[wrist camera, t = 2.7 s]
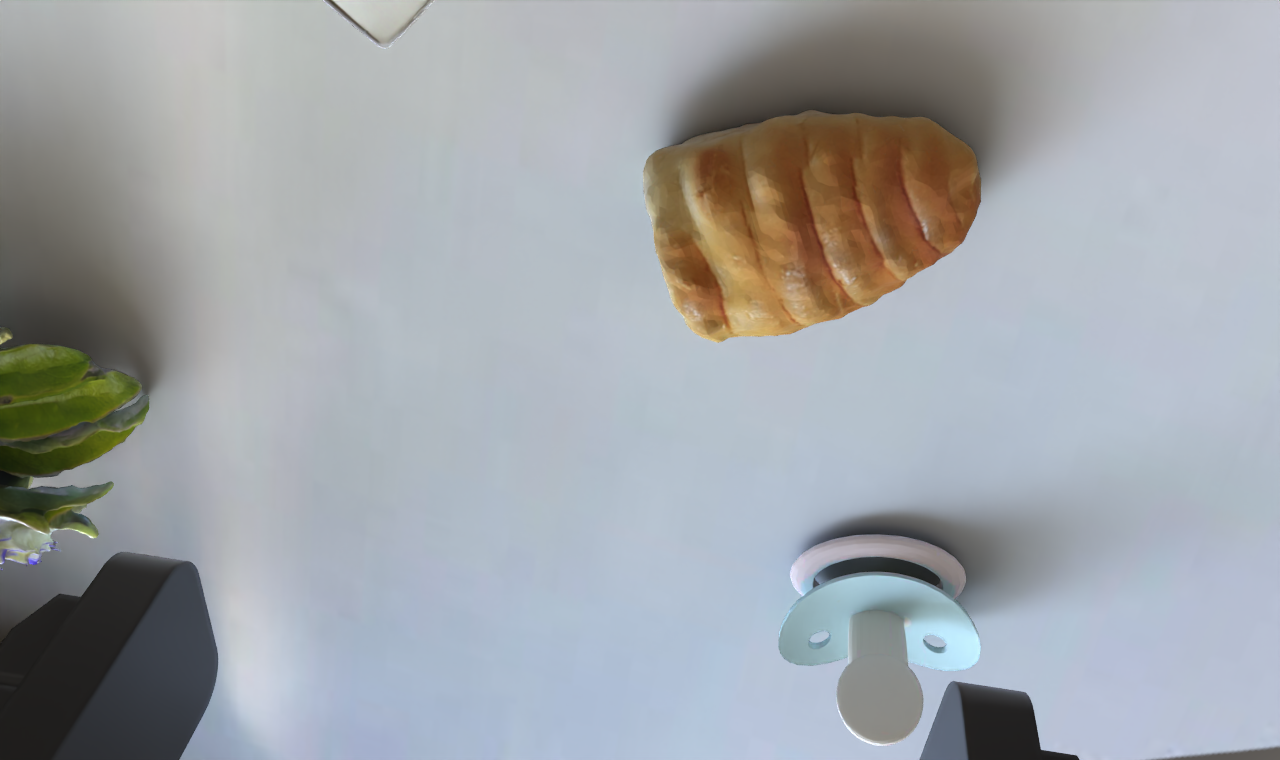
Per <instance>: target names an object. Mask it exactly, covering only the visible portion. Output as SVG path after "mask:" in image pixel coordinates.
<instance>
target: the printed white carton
mask: <svg viewBox="0 0 1280 760" xmlns="http://www.w3.org/2000/svg"><path fill="white" fill-rule="evenodd" d="M323 1H324V2H325V3H326V4H327V5H328V6H330V7H331V8H332V9H333V10H334V11H336V12H337V13H338V14H339V15H341V16H342V17H343V18H344V19H345V20H346V21H348V22H349V23H350V24H351V25H352V26H353V27H355V28H356V29H357V30H359V31H360V32H362V33H363V34H364V35H365V36H366V37H368V38H369V39H370V40H371V41H372V42H373V43H374V44H376V45H377V46H378V47H381V48H383V49H385V48H389V47H390V46H392V45H393V44H394V43H395V42H396V41H397V39H398V38H399V37H400V36H401V35H402V34H403V33H404V32H405V31H406V30H407V29H408V28H409V27H410V26H411V25H412V24H413V23H414V22H415V21H416V20H417V19H418V18H419V17H420V16H421V15H422V13H423V12H424V11H425V10H426V9H427V8H428V7H429V6H430V5H431V4H432V3H433V2H434V1H435V0H323Z"/></svg>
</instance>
